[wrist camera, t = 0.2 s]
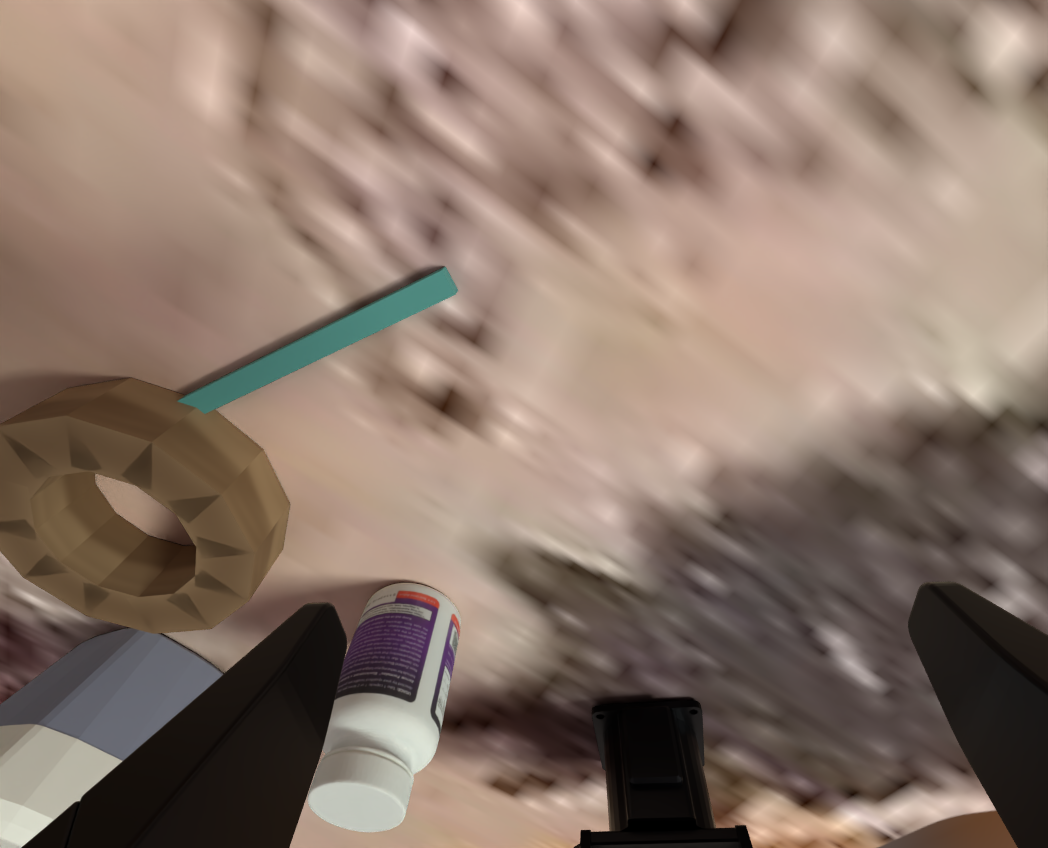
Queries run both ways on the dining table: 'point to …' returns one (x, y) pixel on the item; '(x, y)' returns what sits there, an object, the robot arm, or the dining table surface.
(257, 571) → the brown faceted ring
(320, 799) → the pill bottle
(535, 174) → the dining table surface
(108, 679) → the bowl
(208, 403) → the teal stick
